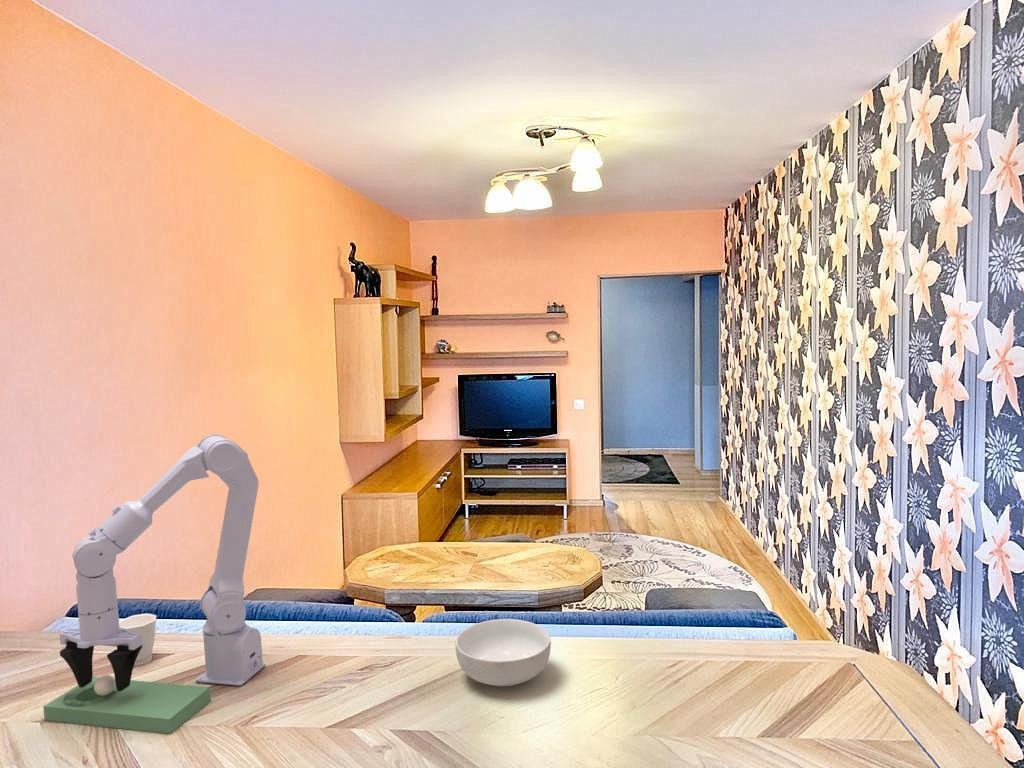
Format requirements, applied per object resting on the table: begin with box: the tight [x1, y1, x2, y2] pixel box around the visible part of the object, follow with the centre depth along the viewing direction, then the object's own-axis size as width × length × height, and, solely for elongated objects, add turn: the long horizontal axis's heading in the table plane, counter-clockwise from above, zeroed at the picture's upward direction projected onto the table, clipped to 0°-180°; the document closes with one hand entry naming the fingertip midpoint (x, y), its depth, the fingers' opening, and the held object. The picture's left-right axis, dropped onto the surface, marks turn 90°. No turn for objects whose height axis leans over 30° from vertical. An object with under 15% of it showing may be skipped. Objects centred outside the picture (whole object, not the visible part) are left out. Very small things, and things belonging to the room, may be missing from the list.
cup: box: [119, 613, 157, 667], centre depth 137 cm, size 7×10×8 cm
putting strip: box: [43, 676, 212, 735], centre depth 118 cm, size 24×10×2 cm, turn 77°
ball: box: [94, 674, 116, 696], centre depth 118 cm, size 3×3×3 cm
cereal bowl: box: [454, 618, 552, 688], centre depth 125 cm, size 17×17×7 cm
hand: (104, 686), depth 118 cm, fingers open, 7 cm apart
